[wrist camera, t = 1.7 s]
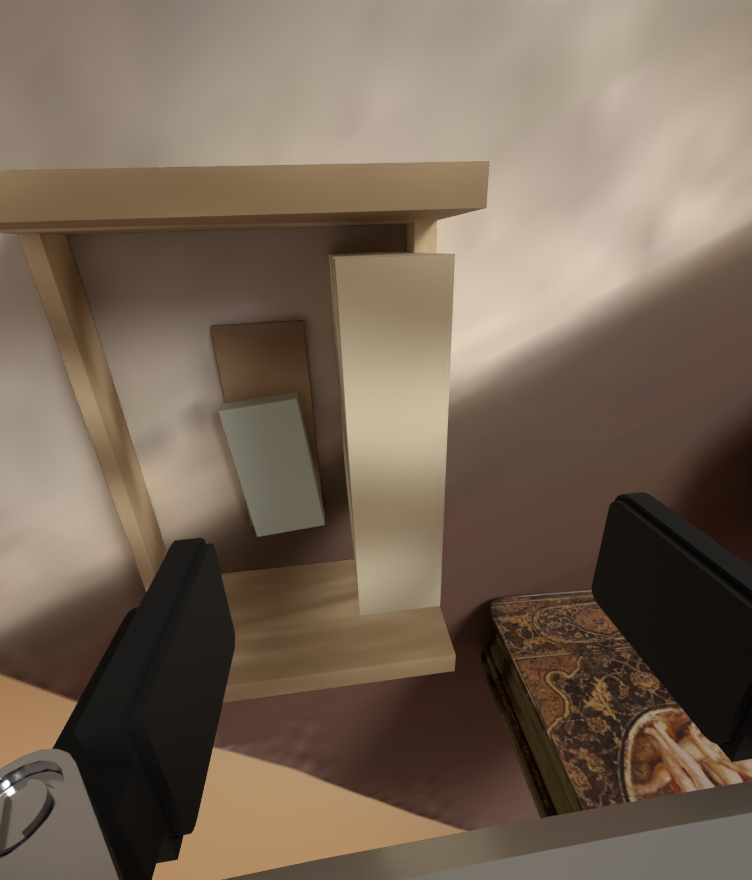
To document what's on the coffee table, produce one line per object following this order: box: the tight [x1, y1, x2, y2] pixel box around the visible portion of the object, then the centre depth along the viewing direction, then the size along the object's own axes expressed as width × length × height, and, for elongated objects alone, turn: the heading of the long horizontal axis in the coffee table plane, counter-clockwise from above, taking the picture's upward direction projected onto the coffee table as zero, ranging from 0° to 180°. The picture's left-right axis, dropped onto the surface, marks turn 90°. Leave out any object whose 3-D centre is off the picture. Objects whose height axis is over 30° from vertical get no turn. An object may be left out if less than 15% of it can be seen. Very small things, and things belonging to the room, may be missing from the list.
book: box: [481, 590, 752, 818], centre depth 22 cm, size 16×6×25 cm, turn 89°
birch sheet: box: [329, 252, 455, 616], centre depth 18 cm, size 12×3×11 cm, turn 2°
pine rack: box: [0, 161, 489, 703], centre depth 20 cm, size 22×17×8 cm
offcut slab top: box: [218, 392, 325, 537], centre depth 23 cm, size 8×4×1 cm, turn 7°
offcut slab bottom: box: [211, 320, 323, 526], centre depth 24 cm, size 12×4×1 cm, turn 2°
